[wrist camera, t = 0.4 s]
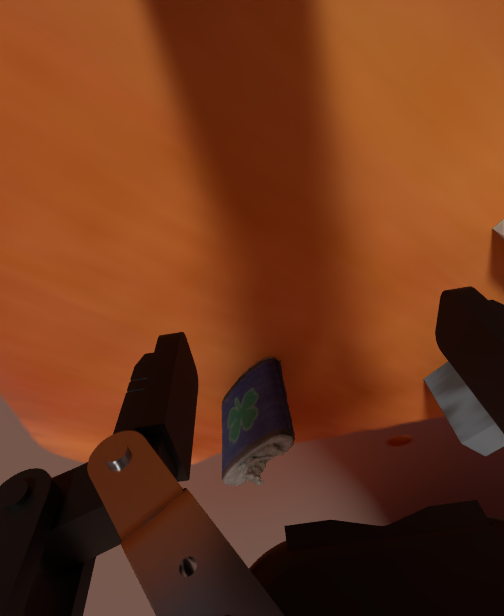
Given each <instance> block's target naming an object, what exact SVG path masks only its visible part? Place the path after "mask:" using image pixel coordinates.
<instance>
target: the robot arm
mask: <svg viewBox="0 0 504 616" xmlns="http://www.w3.org/2000/svg"><path fill="white" fill-rule="evenodd" d="M435 335H436V341H437V344H438V347H439V349H440V350H441V352H442V353H443V355H444V356H445V357H446V359H447V360H448V361H449V362H450V364H451V365H452V366H453V368H454V369H455V370H456V372H457V373H458V374H459V376H460V377H461V378H462V380H463V381H464V382H465V384H466V385H467V386H468V388H469V389H470V390H471V392H472V393H473V394H474V395H475V397H476V398H477V399H478V401H479V402H480V403H481V405H482V406H483V407H484V409H485V410H486V411H487V413H488V414H489V415H490V417H491V418H492V419H493V421H494V422H495V423H496V424H497V426H498V427H499V428H500V430H501V431H502V432H503V434H504V305H503V304H501V303H499V302H496V301H494V300H487V299H486V298H485V297H484V296H483V295H482V294H481V293H479V292H478V291H477V290H476V289H475V288H473V287H463V288H457V289H451V290H445V291H443V292H442V294H441V297H440V303H439V310H438V317H437V324H436V331H435ZM197 395H198V375H197V370H196V366H195V363H194V360H193V357H192V354H191V351H190V348H189V345H188V342H187V338H186V336H185V334H184V332H179V333H173V334H166V335H160V336H159V337H158V340H157V344H156V348H155V351H154V353H148V354H144V356H143V357H142V358H141V359H140V361H139V362H138V363H137V364H136V365H135V367H134V370H133V373H132V376H131V382H130V383H129V386H128V389H127V393H126V395H125V398H124V401H123V405H122V408H121V411H120V414H119V417H118V420H117V423H116V426H115V430H114V433H113V435H111V436H109V437H108V438H106V439H105V440H103V441H102V442H101V443H100V444H99V445H98V446H97V447H96V448H95V449H94V451H93V452H92V454H91V456H90V458H89V461H88V462H87V463H85V464H83V465H81V466H79V467H76V468H74V469H72V470H69V471H67V472H65V473H62V474H60V475H58V476H55V477H53V478H51V476H50V475H49V474H48V473H47V472H46V471H45V470H43V469H38V468H35V469H28V470H25V471H22V472H20V473H18V474H16V475H14V476H13V477H11V478H9V479H8V480H7V481H5V482H4V483H3V484H2V485H1V486H0V616H83V613H84V608H85V604H86V599H87V595H88V590H89V586H90V581H91V577H92V572H93V568H94V563H95V559H96V556H97V555H99V554H101V553H103V552H106V551H108V550H110V549H112V548H114V547H116V546H118V545H120V544H121V546H122V548H123V550H124V553H125V555H126V557H127V559H128V561H129V562H130V565H131V567H132V569H133V570H134V573H135V575H136V577H137V579H138V581H139V583H140V584H141V587H142V589H143V591H144V593H145V594H146V597H147V599H148V601H149V603H150V605H151V607H152V609H153V611H154V613H155V615H156V616H504V519H500V518H496V517H491V516H486V515H485V513H484V512H483V510H482V508H481V506H480V505H479V503H478V501H477V500H472V501H464V502H458V503H450V504H442V505H435V506H428V507H427V508H424V509H422V510H420V511H418V512H415V513H413V514H411V515H409V516H407V517H404V518H402V519H400V520H398V521H396V522H394V523H391V524H389V525H386V526H375V525H366V524H360V523H352V522H344V521H337V520H325V521H318V522H311V523H303V524H296V525H289V526H285V533H286V541H284V542H282V543H280V544H278V545H276V546H275V547H273V548H271V549H270V550H268V551H267V552H266V553H265V554H263V555H262V556H261V557H260V558H259V559H257V561H256V562H255V563H254V564H253V565H252V566H251V567H250V568H248V567H247V566H246V564H245V563H244V562H243V560H242V559H241V558H240V557H239V555H238V554H237V553H236V551H235V550H234V549H233V547H232V546H231V545H230V543H229V542H228V541H227V540H226V538H225V537H224V536H223V534H222V533H221V532H220V530H219V529H218V528H217V527H216V525H215V524H214V523H213V521H212V520H211V519H210V517H209V516H208V515H207V513H206V512H205V511H204V509H203V508H202V507H201V506H200V504H199V503H198V502H197V500H196V499H195V498H194V496H193V495H192V494H191V493H190V492H189V490H187V489H186V488H184V489H183V488H182V487H181V486H180V484H179V483H178V482H179V481H187V480H189V477H190V467H191V456H192V446H193V436H194V426H195V415H196V405H197Z"/></svg>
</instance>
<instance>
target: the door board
mask: <svg viewBox="0 0 504 616" xmlns="http://www.w3.org/2000/svg"><path fill="white" fill-rule="evenodd" d="M493 229H494V230H495V231H496V232H497V233H498V234H499V235H500V236H501V237H502V238H503V239H504V219H503V220H502V221H501V222H500V223H499V224H497V225H496V226H495V227H494V228H493Z"/></svg>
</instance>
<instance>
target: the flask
mask: <svg viewBox="0 0 504 616" xmlns="http://www.w3.org/2000/svg"><path fill="white" fill-rule="evenodd" d="M280 362H281V361H279V360H277V359H275V358H271V357H268V358H265V359H262V360H261V361H259V362H257V363H256V364H255V365H254V366H252V367H251V368H249V369H248V370H247V371H246V372H245V373H244V374H243V375H242V376H241V377H240V378H239V379H238V381H237V382H236V383H235V384H234V385H233V387H232V388H231V389H230V390H229V392H228V393H227V394H226V395H225V397H224V399H223V402H222V480H223V482H224V483H226V484H227V485H233V486H235V485H242V484H243V483H245V482H246V481H247V479H248V481H251V482H254V484H255V485H259V484H263V483H264V481H261V480H260V479H261V478H260V474H261V473H262V472H263V470H264V467H266V463H267V462H268V461H269V460H270V459H273V458H274V457H275V456H277V455H279V454H280V455H283V454H284V452H286V451H288V450H289V448H291V447H292V446H293V444H294V443H293V442H294V440H295V437H294V435H295V434H294V431H293V426H292V420H291V416H290V411H289V406H288V402H287V395H286V390H285V386H284V382H283V376H282V370H281V364H280Z"/></svg>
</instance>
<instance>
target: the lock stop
mask: <svg viewBox="0 0 504 616" xmlns="http://www.w3.org/2000/svg"><path fill="white" fill-rule="evenodd" d="M424 380H425V382H426V384H427V385H428V387H429V389H430V391H431V392H432V394H433V396H434V397H435V399H436V401H437V402H438V404H439V406H440V408H441V409H442V411H443V413H444V414H445V416H446V418H447V419H448V421H449V423H450V424H451V426H452V428H453V430H454V431H455V433H456V435H457V436H458V438H459V440H460V441H461V443H462V444H464V445H466V446H467V447H469V448H471V449H473V450H475V451H477V452H478V453H480V454H482V455H484V456H487V455H488V454H490V453H492V452H494V451H496V450H498V449H500V448H501V447H503V446H504V434H503V432H502V431H501V430H500V428H499V427H498V426H497V424H496V423H495V422H494V421H493V419H492V418H491V417H490V415H489V414H488V413H487V411H486V410H485V409H484V407H483V406H482V405H481V403H480V402H479V401H478V399H477V398H476V397H475V395H474V394H473V393H472V392H471V390H470V389H469V388H468V386H467V385H466V384H465V382H464V381H463V380H462V378H461V377H460V376H459V374H458V373H457V372H456V370H455V369H454V368H453V366H452V365H451V364H450V362H449V361H448V362H447V363H445V364H444V365H443V366H441V367H440V368H438V369H437V370H436V371H434V372H433V373H431V374H430V375H429V376H427V377H426V378H424Z"/></svg>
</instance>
